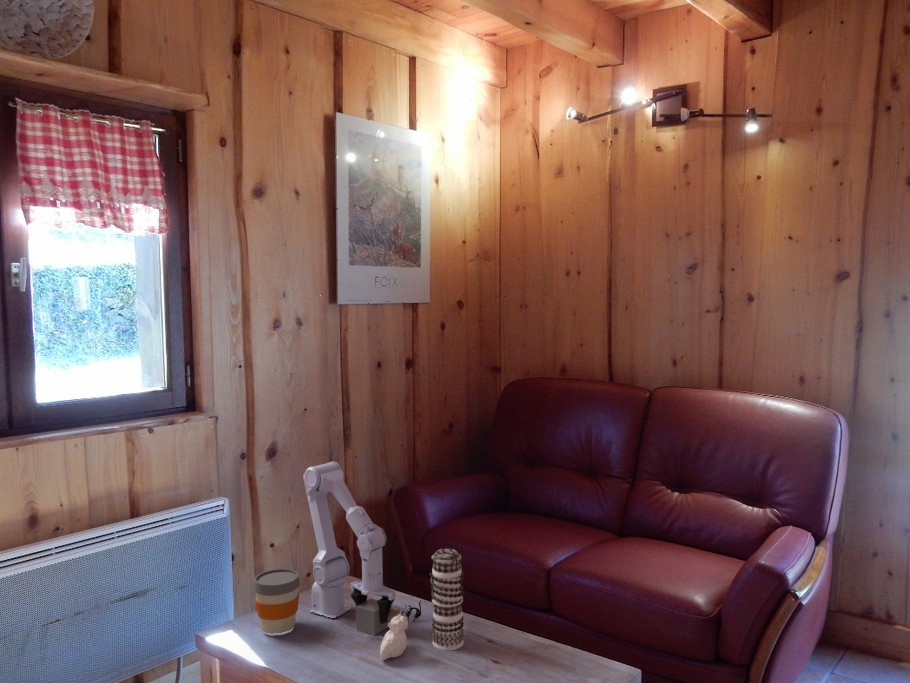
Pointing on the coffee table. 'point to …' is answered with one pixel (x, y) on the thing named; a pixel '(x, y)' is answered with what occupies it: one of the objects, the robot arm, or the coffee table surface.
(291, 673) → the coffee table surface
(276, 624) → the reusable coffee cup
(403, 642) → the bust
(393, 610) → the stopper bar
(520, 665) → the coffee table surface
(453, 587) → the decorative candle
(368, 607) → the grey matte cube
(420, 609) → the creature
